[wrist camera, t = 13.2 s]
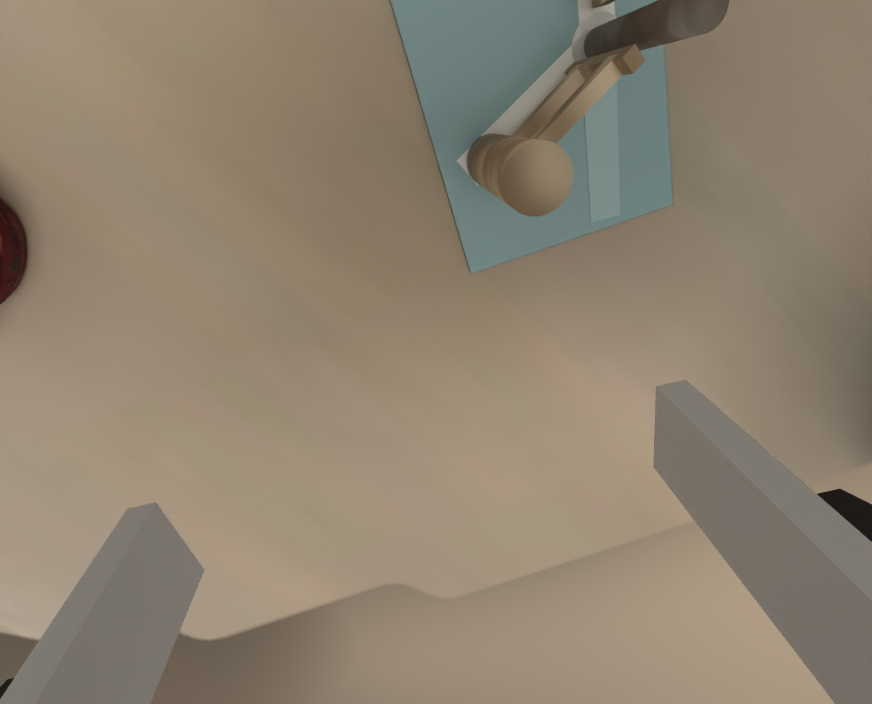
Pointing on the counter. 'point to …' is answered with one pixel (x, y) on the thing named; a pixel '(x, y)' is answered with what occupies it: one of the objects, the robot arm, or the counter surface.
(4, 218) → the brown sculpted mug
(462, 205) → the card
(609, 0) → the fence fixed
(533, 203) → the fence panel
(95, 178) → the counter surface
